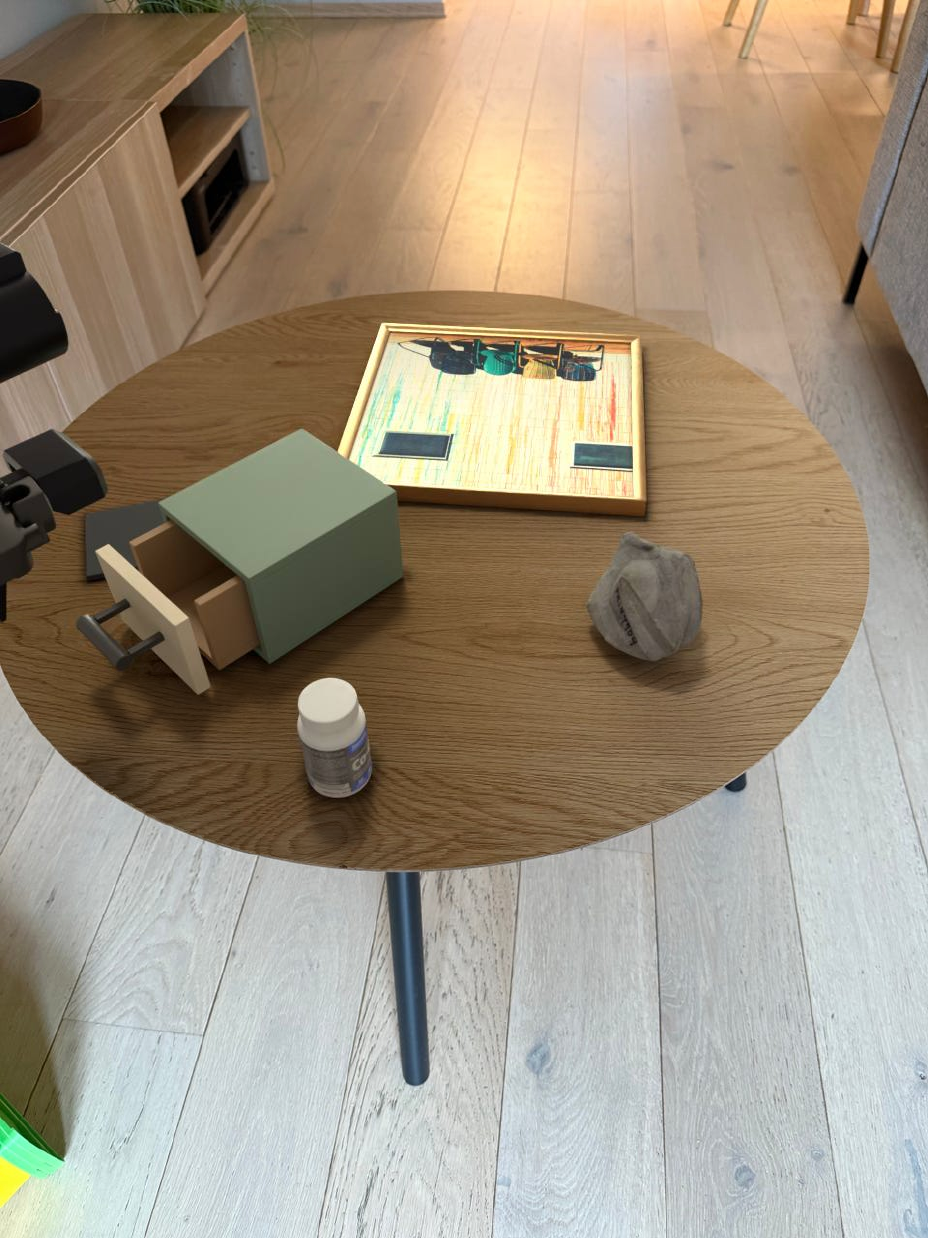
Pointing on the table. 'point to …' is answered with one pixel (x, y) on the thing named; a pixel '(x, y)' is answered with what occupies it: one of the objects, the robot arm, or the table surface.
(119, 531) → the coaster
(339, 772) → the pill bottle
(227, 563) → the cabinet
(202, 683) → the drawer
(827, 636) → the table surface
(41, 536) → the robot arm
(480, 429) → the picture frame
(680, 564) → the fossil
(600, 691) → the table surface
